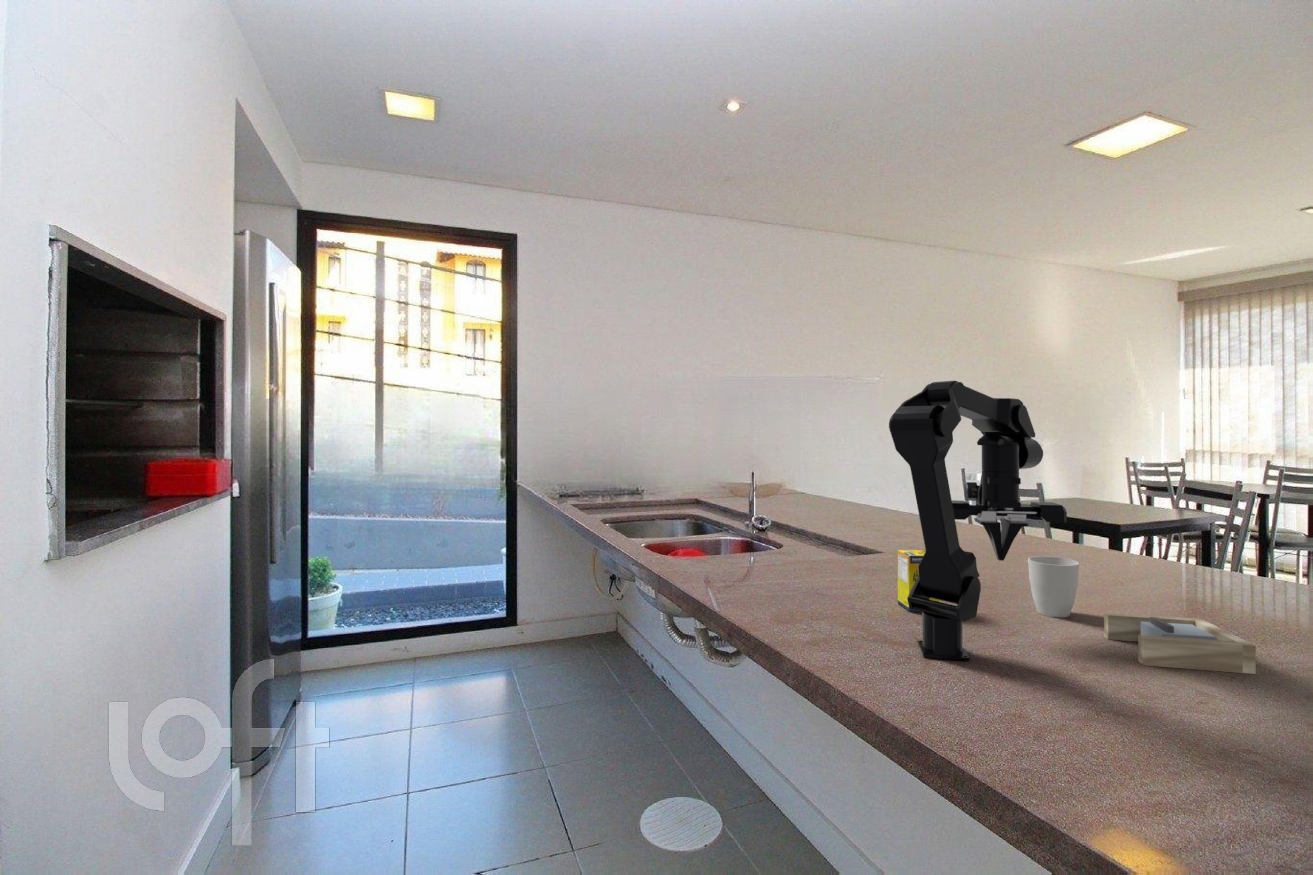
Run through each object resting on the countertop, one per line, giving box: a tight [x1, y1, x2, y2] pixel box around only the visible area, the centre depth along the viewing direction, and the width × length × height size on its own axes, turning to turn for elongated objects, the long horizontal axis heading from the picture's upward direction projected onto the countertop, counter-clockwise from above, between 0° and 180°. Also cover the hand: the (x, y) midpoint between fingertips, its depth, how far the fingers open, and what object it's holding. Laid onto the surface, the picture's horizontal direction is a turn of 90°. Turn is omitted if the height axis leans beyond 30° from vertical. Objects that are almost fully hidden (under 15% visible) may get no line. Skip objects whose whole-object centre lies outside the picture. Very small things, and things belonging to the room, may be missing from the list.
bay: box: [1103, 612, 1257, 675], centre depth 94 cm, size 13×14×4 cm
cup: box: [1027, 555, 1080, 618], centre depth 115 cm, size 8×8×10 cm
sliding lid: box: [1141, 617, 1217, 640], centre depth 95 cm, size 6×7×5 cm
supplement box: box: [897, 549, 940, 613], centre depth 120 cm, size 6×6×11 cm
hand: (1000, 560), depth 107 cm, fingers closed
